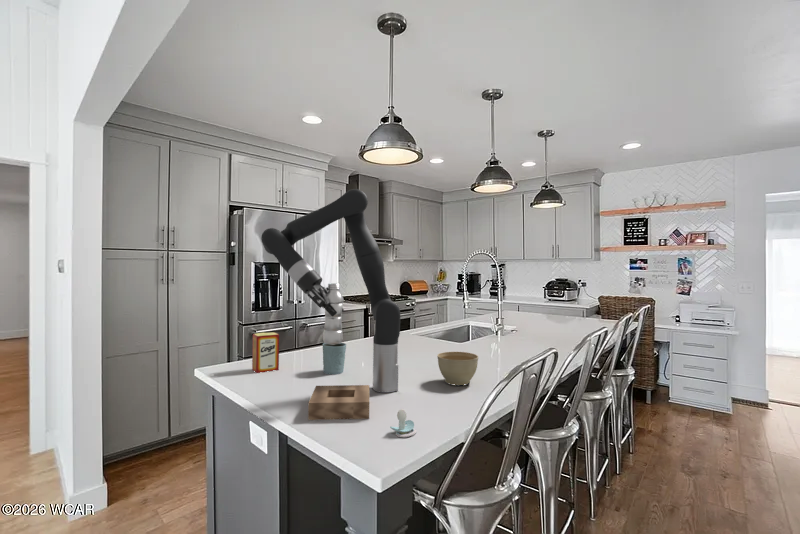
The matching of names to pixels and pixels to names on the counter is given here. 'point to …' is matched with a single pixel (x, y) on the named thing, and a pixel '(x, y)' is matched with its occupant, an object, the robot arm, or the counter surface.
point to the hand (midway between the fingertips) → (338, 313)
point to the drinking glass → (333, 358)
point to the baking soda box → (265, 352)
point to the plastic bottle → (333, 323)
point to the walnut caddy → (339, 402)
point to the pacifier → (402, 428)
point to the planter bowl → (457, 366)
